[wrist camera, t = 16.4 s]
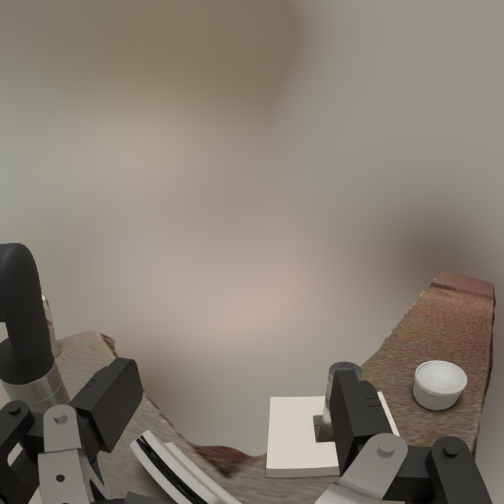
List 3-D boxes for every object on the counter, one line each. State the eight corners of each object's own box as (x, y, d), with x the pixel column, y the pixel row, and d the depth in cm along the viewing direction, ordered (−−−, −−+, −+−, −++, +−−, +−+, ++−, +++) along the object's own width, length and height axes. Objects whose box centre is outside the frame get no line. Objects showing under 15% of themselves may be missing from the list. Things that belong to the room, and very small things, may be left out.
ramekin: (422, 374, 52) (428, 353, 50) (465, 391, 43) (473, 370, 42) (398, 400, 45) (405, 379, 44) (446, 422, 36) (457, 400, 35)
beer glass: (40, 348, 60) (26, 295, 57) (63, 345, 64) (49, 292, 60) (37, 361, 55) (20, 305, 51) (61, 359, 58) (45, 302, 54)
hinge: (251, 510, 26) (225, 493, 22) (226, 533, 24) (193, 521, 19) (175, 445, 38) (143, 413, 33) (154, 462, 35) (118, 432, 31)
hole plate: (266, 477, 32) (266, 467, 32) (270, 406, 48) (270, 396, 47) (401, 465, 30) (407, 454, 30) (378, 401, 46) (381, 390, 45)
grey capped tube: (319, 448, 37) (331, 381, 34) (317, 429, 41) (327, 362, 38) (347, 446, 37) (364, 379, 33) (343, 427, 41) (357, 360, 38)
